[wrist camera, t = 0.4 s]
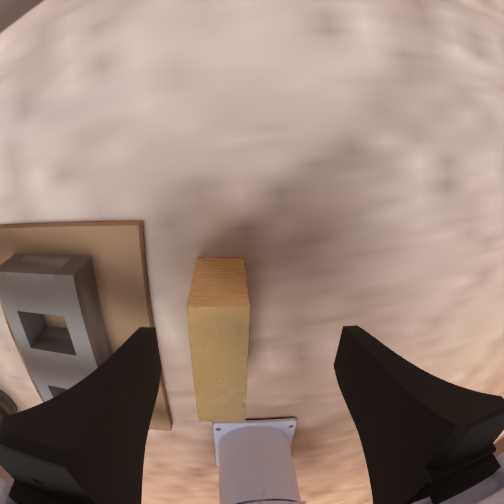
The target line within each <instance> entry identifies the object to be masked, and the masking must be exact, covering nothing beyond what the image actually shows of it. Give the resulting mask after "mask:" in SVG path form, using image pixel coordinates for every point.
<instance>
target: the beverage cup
mask: <svg viewBox="0 0 504 504" xmlns="http://www.w3.org/2000/svg"><path fill="white" fill-rule="evenodd" d="M16 412H17V407H16V405H15V403H14V402H13V401H12V399H11V398H10V397H9V396H8V395H7V394H5V393H4V392H3V391H1V390H0V422H1V420H2V419H3V417H5V416H9V415H12V414H15V413H16Z"/></svg>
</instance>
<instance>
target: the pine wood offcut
mask: <svg viewBox="0 0 504 504" xmlns="http://www.w3.org/2000/svg"><path fill="white" fill-rule="evenodd" d="M187 313H188V325H189V337H190V348H191V358H192V368H193V377H194V386H195V395H196V403H197V411H198V418H199V421H212V422H236V421H245V412H246V389H247V366H248V343H249V320H250V303H249V296H248V288H247V281H246V273H245V266H244V258H197V261H196V266H195V271H194V275H193V280H192V285H191V289H190V294H189V299H188V304H187Z"/></svg>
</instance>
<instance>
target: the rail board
mask: <svg viewBox="0 0 504 504" xmlns="http://www.w3.org/2000/svg"><path fill="white" fill-rule="evenodd" d="M0 304H1V307H2V310H3V313H4V316H5V319H6V322H7V324H8V327H9V330H10V332H11V335H12V337H13V340H14V342H15V345H16V347H17V349H18V352H19V354H20V356H21V359H22V361H23V363H24V365H25V367H26V370H27V372H28V374H29V376H30V378H31V380H32V382H33V384H34V386H35V388H36V390H37V392H38V394H39V395H40V397H41V399H42V401H43V403H44V402H46V401H48V400H50V399H52V398H54V397H55V396H57V395H59V394H61V393H62V392H64V391H66V390H67V389H69V388H71V387H72V386H74V385H76V384H77V383H78V382H80V381H81V380H83V379H84V378H85V377H87V376H88V375H89V374H91V373H92V372H93V371H94V370H96V369H97V368H98V367H99V366H100V365H101V364H102V363H104V362H105V361H106V360H107V359H108V358H109V357H110V356H111V355H112V354H113V353H114V352H115V351H116V350H117V349H118V348H119V347H120V346H121V345H122V344H123V343H124V342H125V341H126V340H127V339H128V338H129V337H130V336H131V335H132V334H133V333H134V332H135V331H136V330H137V329H138V328H139V327H152V328H154V325H153V318H152V311H151V303H150V296H149V288H148V279H147V270H146V260H145V249H144V237H143V223H142V221H97V222H60V223H32V224H10V225H0ZM172 424H173V423H172V419H171V414H170V410H169V405H168V401H167V396H166V392H165V387H164V382H163V377H162V372H161V377H160V384H159V391H158V395H157V399H156V403H155V407H154V410H153V414H152V418H151V422H150V426H149V429H155V430H167V431H172Z"/></svg>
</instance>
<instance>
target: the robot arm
mask: <svg viewBox="0 0 504 504" xmlns="http://www.w3.org/2000/svg"><path fill="white" fill-rule="evenodd" d="M161 369H162V367H161V362H160V356H159V350H158V343H157V337H156V330H155V328H152V327H139V328H138V329H137V330H136V331H135V332H134V333H133V334H132V335H131V336H130V337H129V338H128V339H127V340H126V341H125V342H124V343H123V344H122V345H121V346H120V347H119V348H118V349H117V350H116V351H115V352H114V353H113V354H112V355H111V356H110V357H109V358H108V359H107V360H106V361H105V362H104V363H102V364H101V365H100V366H99V367H98V368H97V369H96V370H94V371H93V372H92V373H91V374H89V375H88V376H87V377H85V378H84V379H83V380H81V381H80V382H78V383H77V384H76V385H74V386H72V387H71V388H69V389H67V390H66V391H64V392H62V393H61V394H59V395H57V396H55V397H54V398H52V399H50V400H48V401H46V402H44V403H41V404H39V405H37V406H34V407H32V408H30V409H27V410H24V411H21V412H18V413H15V414H12V415H9V416H5V417H3V419H2V420H1V422H0V465H1V466H2V467H3V468H4V469H5V470H6V471H7V472H8V473H9V474H10V475H11V476H12V477H13V478H14V479H15V480H14V483H13V486H11V485H10V484H9V483H7V482H6V481H4V480H2V479H0V504H141V497H142V476H143V463H144V453H145V444H146V439H147V434H148V430H149V426H150V422H151V418H152V414H153V410H154V407H155V403H156V399H157V395H158V391H159V384H160V377H161ZM334 369H335V373H336V377H337V381H338V384H339V387H340V390H341V392H342V395H343V397H344V399H345V402H346V404H347V406H348V409H349V411H350V414H351V416H352V418H353V421H354V423H355V425H356V428H357V430H358V433H359V436H360V440H361V443H362V447H363V451H364V455H365V459H366V463H367V468H368V472H369V478H370V484H371V489H372V496H373V504H504V452H503V453H502V454H500V455H499V456H498V457H497V458H495V456H494V455H493V453H494V452H495V451H496V447H495V446H494V444H493V442H494V441H495V440H496V439H497V438H498V436H499V435H500V434H501V433H502V431H503V430H504V399H503V397H501V396H496V395H490V394H485V393H480V392H476V391H473V390H469V389H466V388H463V387H460V386H457V385H454V384H452V383H449V382H447V381H444V380H442V379H440V378H437V377H435V376H433V375H431V374H429V373H427V372H425V371H424V370H422V369H420V368H418V367H416V366H415V365H413V364H412V363H410V362H408V361H407V360H405V359H404V358H402V357H401V356H399V355H398V354H396V353H395V352H393V351H392V350H391V349H389V348H388V347H386V346H385V345H384V344H382V343H381V342H380V341H378V340H377V339H376V338H374V337H373V336H372V335H370V334H369V333H367V332H366V331H365V330H363V329H362V328H360V327H359V326H343V330H342V334H341V338H340V342H339V346H338V350H337V354H336V358H335V362H334ZM296 424H297V422H296V419H295V418H286V419H271V420H248V421H236V422H214V423H213V431H214V442H215V453H216V463H217V467H219V495H220V504H306V503H305V501H301V498H300V493H299V488H298V483H297V478H296V473H295V469H294V464H293V459H292V454H291V449H290V447H291V443H292V440H293V436H294V432H295V428H296Z"/></svg>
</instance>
